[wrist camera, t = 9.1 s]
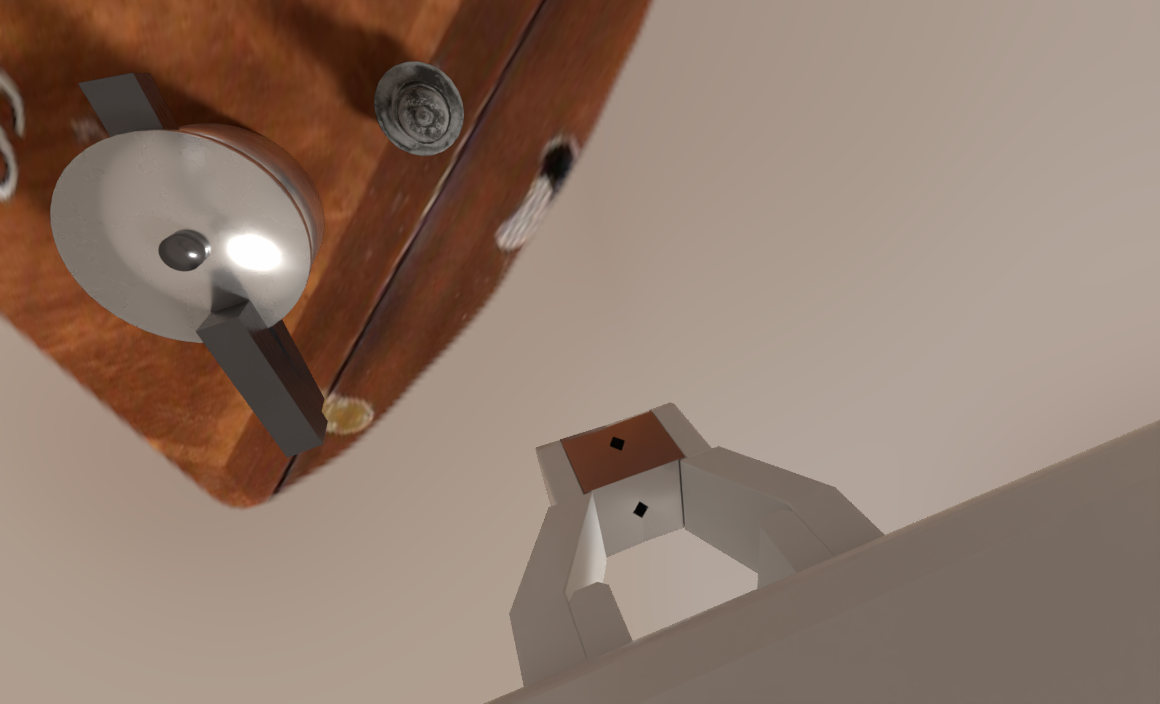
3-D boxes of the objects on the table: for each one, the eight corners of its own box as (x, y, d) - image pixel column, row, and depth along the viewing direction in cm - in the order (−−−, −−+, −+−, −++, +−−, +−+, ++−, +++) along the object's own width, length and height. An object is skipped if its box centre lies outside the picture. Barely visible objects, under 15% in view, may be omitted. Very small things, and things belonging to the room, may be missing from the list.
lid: (-1, 168, 27) (-56, 179, 24) (243, 101, 29) (222, 103, 25) (227, 451, 37) (210, 486, 34) (395, 389, 39) (394, 417, 36)
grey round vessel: (391, 157, 39) (388, 183, 29) (364, 70, 36) (350, 65, 26) (467, 142, 40) (490, 162, 30) (446, 56, 38) (464, 47, 27)
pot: (60, 98, 32) (-29, 103, 26) (260, 59, 34) (226, 54, 28) (244, 391, 44) (216, 448, 37) (386, 349, 46) (383, 395, 39)
